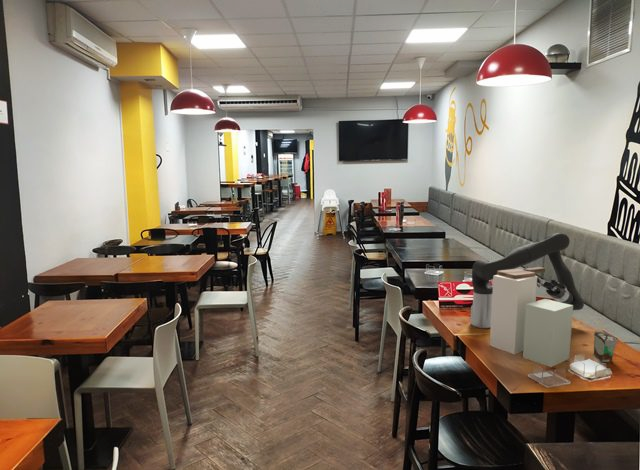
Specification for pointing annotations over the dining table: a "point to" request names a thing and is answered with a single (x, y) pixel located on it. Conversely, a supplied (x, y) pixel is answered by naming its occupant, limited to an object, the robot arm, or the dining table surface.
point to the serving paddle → (521, 272)
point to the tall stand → (510, 311)
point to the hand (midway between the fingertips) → (542, 279)
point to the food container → (604, 346)
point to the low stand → (547, 332)
